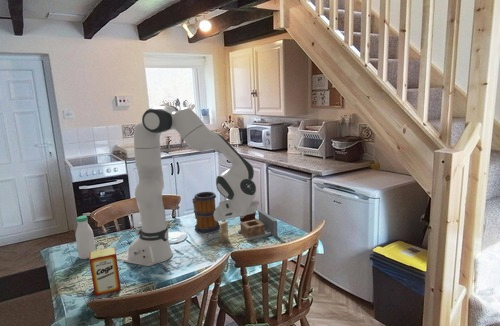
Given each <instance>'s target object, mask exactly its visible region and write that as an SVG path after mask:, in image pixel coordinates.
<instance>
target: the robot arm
mask: <svg viewBox="0 0 500 326" xmlns="http://www.w3.org/2000/svg"><path fill="white" fill-rule="evenodd" d="M171 130H175V131H176V132H177V133H178V134H179V135H180V137H181V138H182V139H183V141H184V143H186V145H187V146H188V147H189V149H191V150H193V151H197V152H203V151H204V152H205V151H210V150H215V151H218V152H220V153H221V154H222V155H223V156H224V157H225V158H226V159H227V160H228V161H229V162H230V163H231V165H232V166H230V167H229V168H227V169H226V170H224V171H223V172H221V174H219V175H218V176H216V179H215V185H216V189H217V192H218V193H220V195H222V196H223V197H224V198H226V199H224V200H222V201H219V202H218V206H217V207H215V208H216V209H215V211H214V214H213V215H214V219H215V221H218V222H225V221H226V222H227V220H229V219H234V218H238V217H239V219H240V218H244V216H246V215H248V214H253V213H255V212H256V213H257V209H258V206H259V205H260V201H258V200H254V199H255V197H256V194H257V186H256V184H255V182H254V180H253V178H254V174H255V172H254V167H253V165H252V164H251V163H250V162H249V161H247V160H246V159H245V158H244V157H243V156H242V155H241V154H240V153H239V152H238V151H237V150H236V149H235V148H234V147H233V146H232V145H231V144H230V143H229V142H228V140H226V139H225V138H224V136H223V135H221V134H220V133H217V132H213V131H212V130H210V129H209V128H208V127H207V126H206V125H205V123H204V122H203V120H202V118H200V116H198V115H197V113H195V112H194V111H193V109H191V108H190V107H182V108H180V109H178V108H177V107H175V106H173V105H159V106H154V107H153V106H152V107H150V108H148V109H147V110H146V111H144V113H143V114H142V117H141V121H140V122H138V123H136V125H135V127H134V131H133V133H134V135H133V147H134V148H133V151H134V160H135V161H134V162H135V167H136V170H137V175H138V184H137V185H136V187H135V190H134V196H135V200H136V204H137V207H138V212H139V215H140V223H141V228H140V229H138V232H137V233H136V235H137V236H138V235H139V236H138V237H137V238H135V240H134V241H133V242H131V243H130V245H129V246H128V251H127V252H126V254H125V255H124V257H123V262H124V263H128V264H129V263H130V264H134V265H135V264H136V265H139V266H145V267H150V266H154V265H156V264H159V263H164V262H165V261H167V260H170V259H171V258H172V256H173V255H174V254H173V250H172V247H171V245H170V240H169V230H168V228H169V227H168V225H167V218H166V210H165V207H164V206H165V205H164V201H163V190H164V188H165V183H164V174H163V166H162V154H161V143H160V142H161V139H160V138H161V134H162V133H166V132H168V131H171Z"/></svg>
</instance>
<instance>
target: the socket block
mask: <svg viewBox="0 0 500 326" xmlns="http://www.w3.org/2000/svg"><path fill="white" fill-rule="evenodd" d="M240 230H241V233H240V234H241V235H242V236H244V238H245V239H246V238H247V237H251V236H256V235H260V234H264V233H266V231H265V224H263V223H262V222H261V221H259V218H255V220H250V221H246V222H243V221H240Z"/></svg>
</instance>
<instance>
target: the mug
mask: <svg viewBox="0 0 500 326" xmlns="http://www.w3.org/2000/svg"><path fill="white" fill-rule="evenodd" d="M216 198H217V195H216V193H215V192H213V191H202V192H198V193H195V195H194V198H193V197H192V204H193V212H194V218H195V220H196V224H195V225H194V231H195V232H196V233H197V234H202V235H203V234H204V235H205V234H211V233H215V232H217V231H220V222H219V221H215V219H214V215H213V214H214V211H215V209H216V208H217V207H216Z"/></svg>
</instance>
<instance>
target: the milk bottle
mask: <svg viewBox="0 0 500 326" xmlns="http://www.w3.org/2000/svg"><path fill="white" fill-rule="evenodd" d="M76 222H77V227H76V230H75V241H76V242H75V243H76V247H77V249H76V250H77V254H78V258H79V259H80V260H87V259H88V260H89V254H90V252H93V251H97V250H96V243H95V237H94V236H95V235H94V232H93V229H92V228H91V226H90V224H89V223H88V216H87V215H80V216H78V217H76Z"/></svg>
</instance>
